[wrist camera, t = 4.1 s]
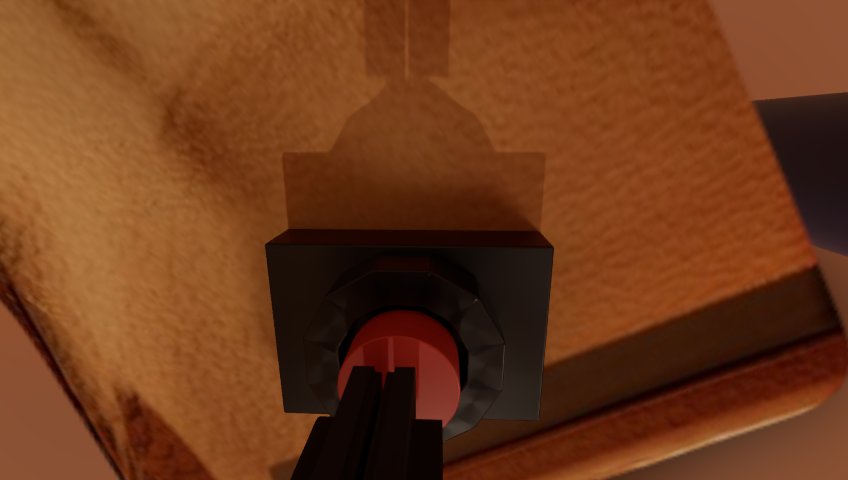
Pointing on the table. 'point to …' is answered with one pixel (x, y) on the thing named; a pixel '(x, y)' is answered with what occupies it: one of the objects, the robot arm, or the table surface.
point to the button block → (419, 291)
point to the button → (410, 358)
